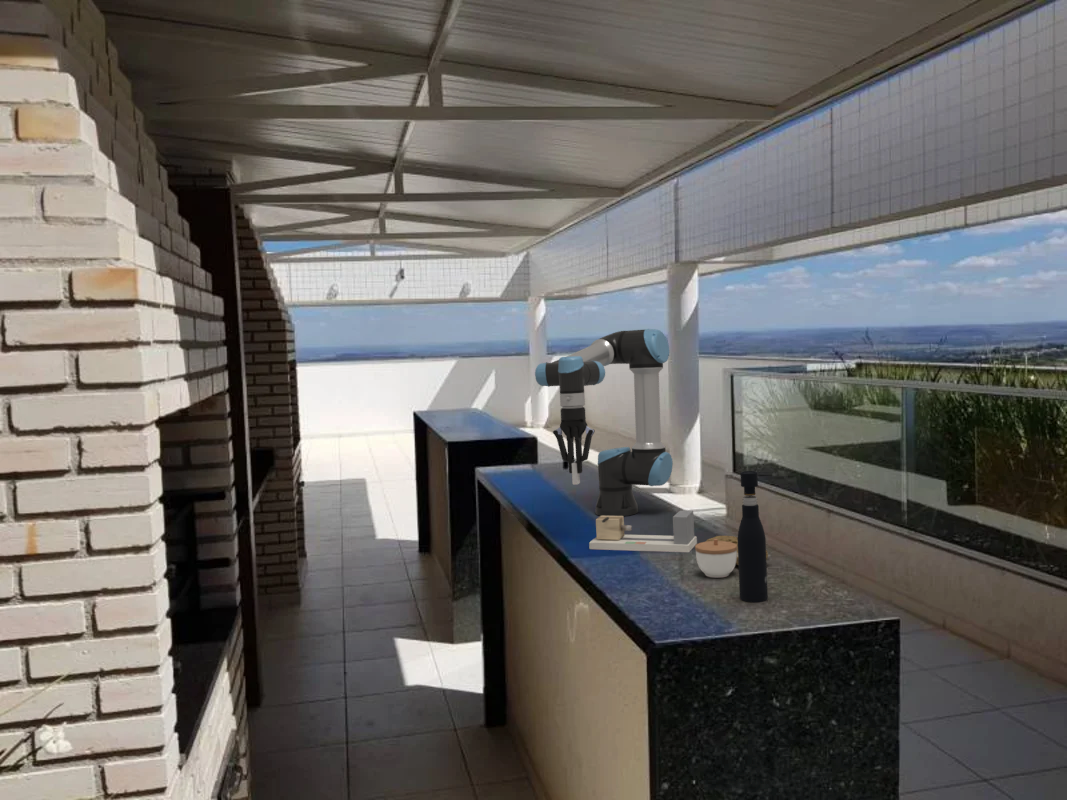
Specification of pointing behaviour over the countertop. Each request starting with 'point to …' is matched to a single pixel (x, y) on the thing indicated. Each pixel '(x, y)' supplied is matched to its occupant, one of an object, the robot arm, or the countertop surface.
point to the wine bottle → (751, 545)
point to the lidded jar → (716, 557)
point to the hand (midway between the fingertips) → (576, 483)
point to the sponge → (730, 539)
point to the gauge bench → (656, 538)
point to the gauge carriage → (611, 527)
